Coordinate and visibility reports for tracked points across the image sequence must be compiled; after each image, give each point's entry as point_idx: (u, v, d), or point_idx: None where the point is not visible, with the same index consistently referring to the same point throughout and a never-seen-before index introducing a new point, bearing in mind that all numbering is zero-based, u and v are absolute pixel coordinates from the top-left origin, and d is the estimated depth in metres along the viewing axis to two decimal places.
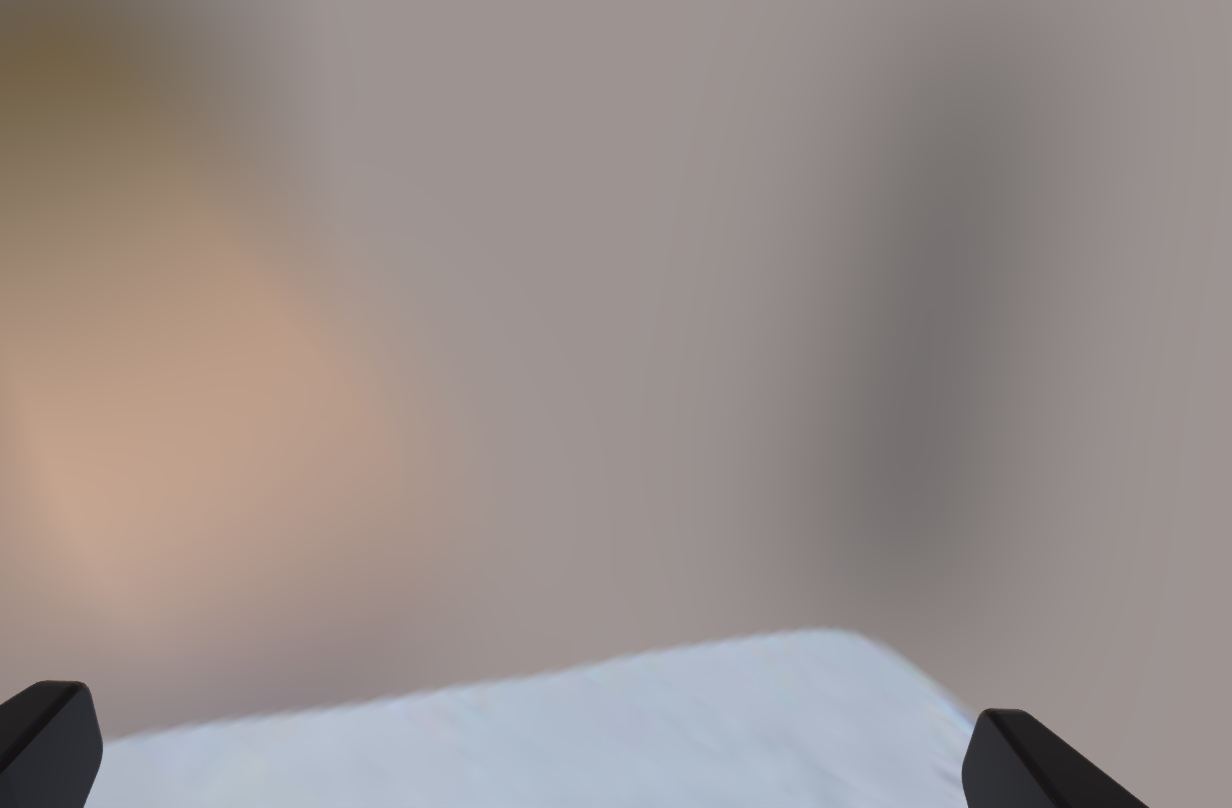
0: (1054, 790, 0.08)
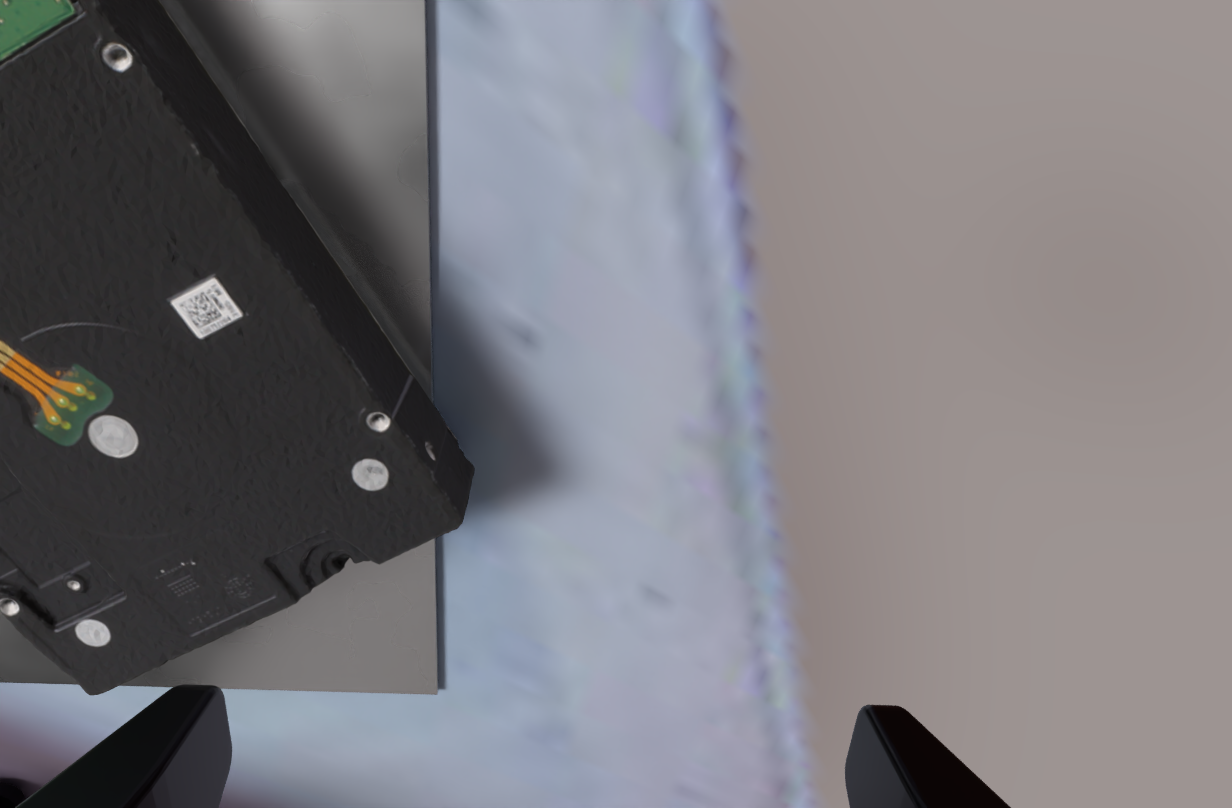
0: (914, 787, 0.08)
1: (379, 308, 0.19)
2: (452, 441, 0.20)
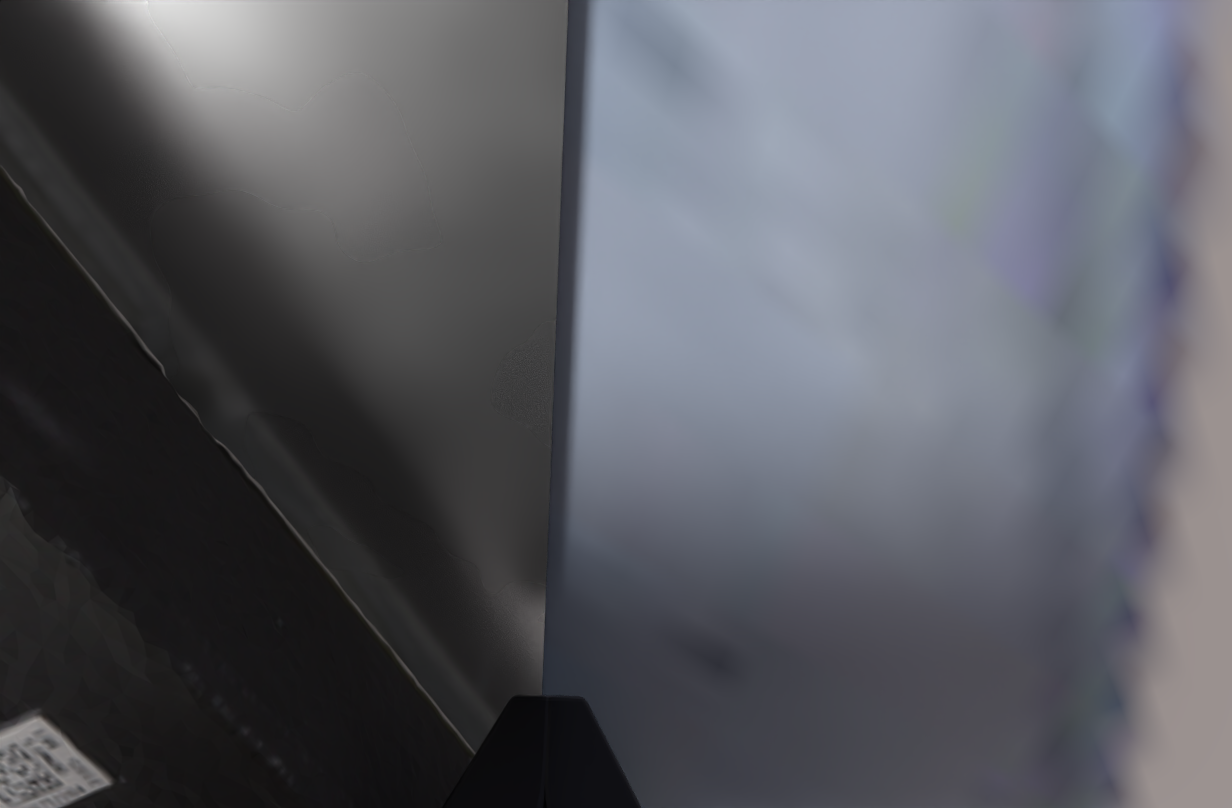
0: (545, 778, 0.07)
1: (446, 630, 0.10)
2: None
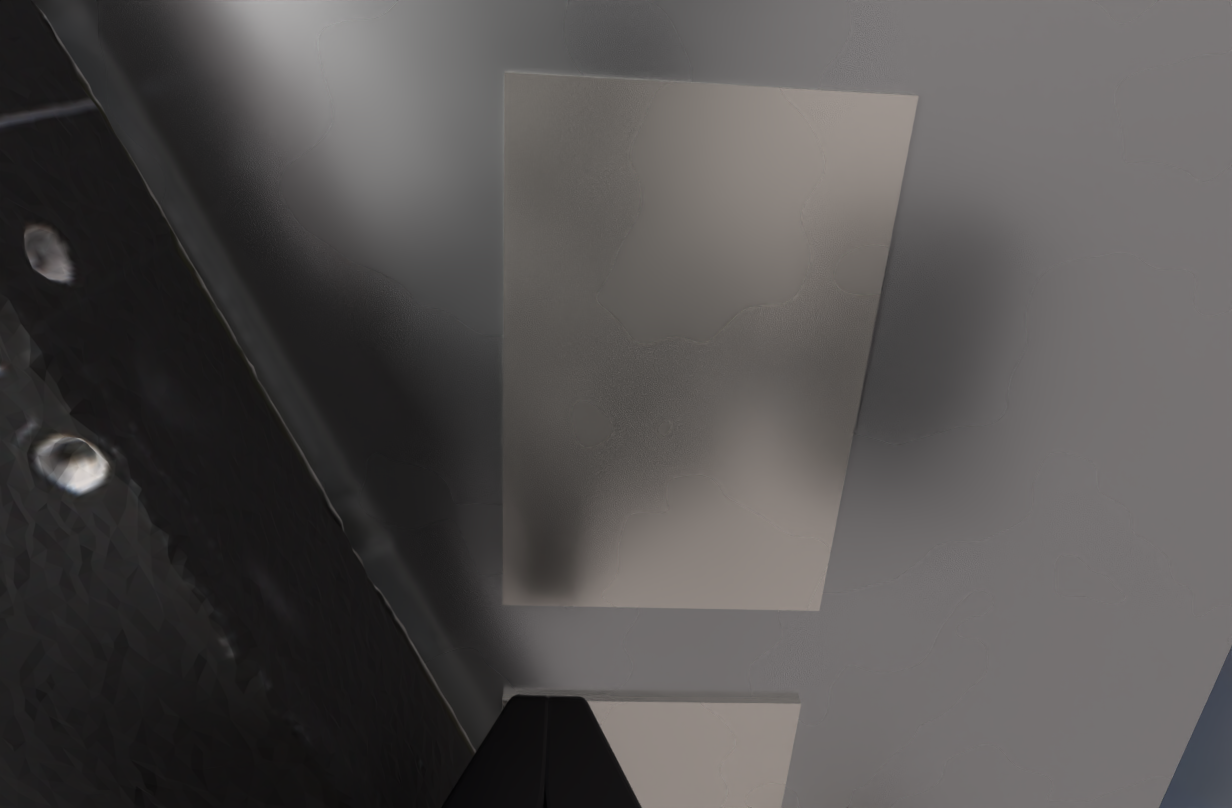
0: (545, 778, 0.07)
1: (1141, 651, 0.11)
2: None
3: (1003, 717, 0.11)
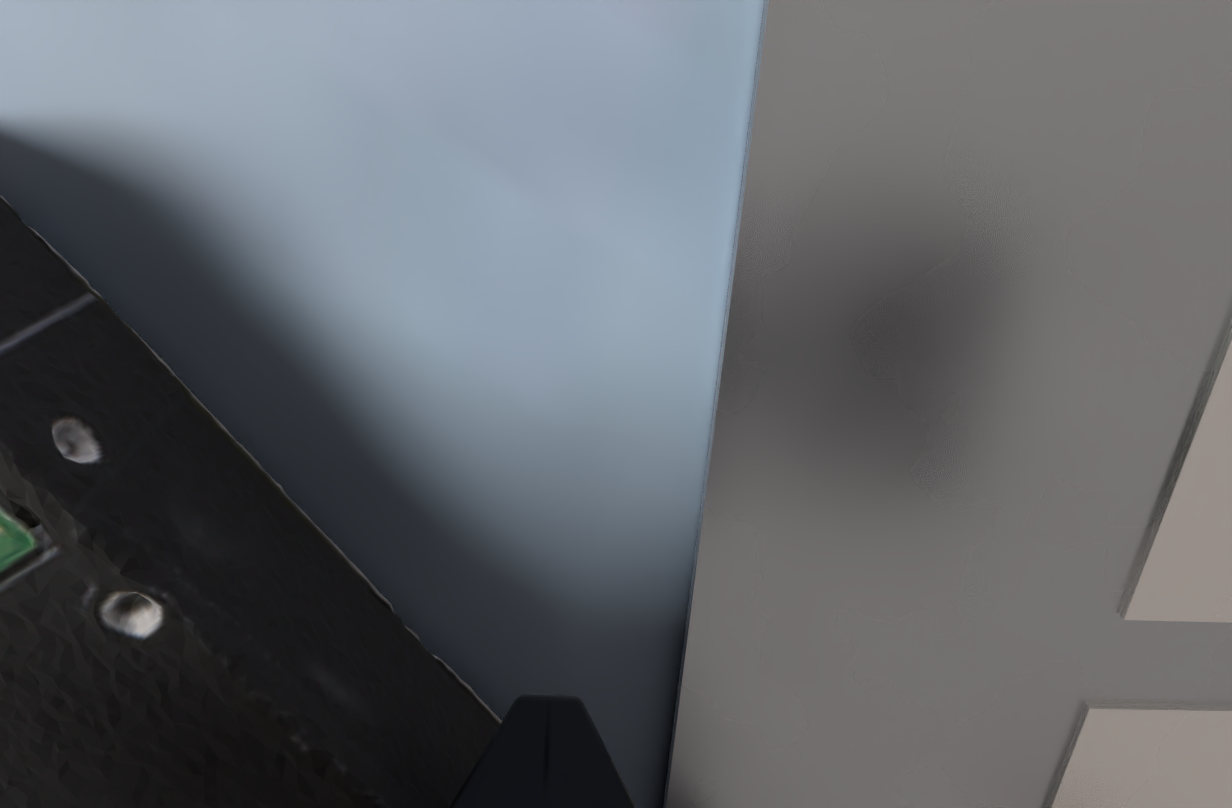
0: (540, 778, 0.07)
1: None
2: None
3: None
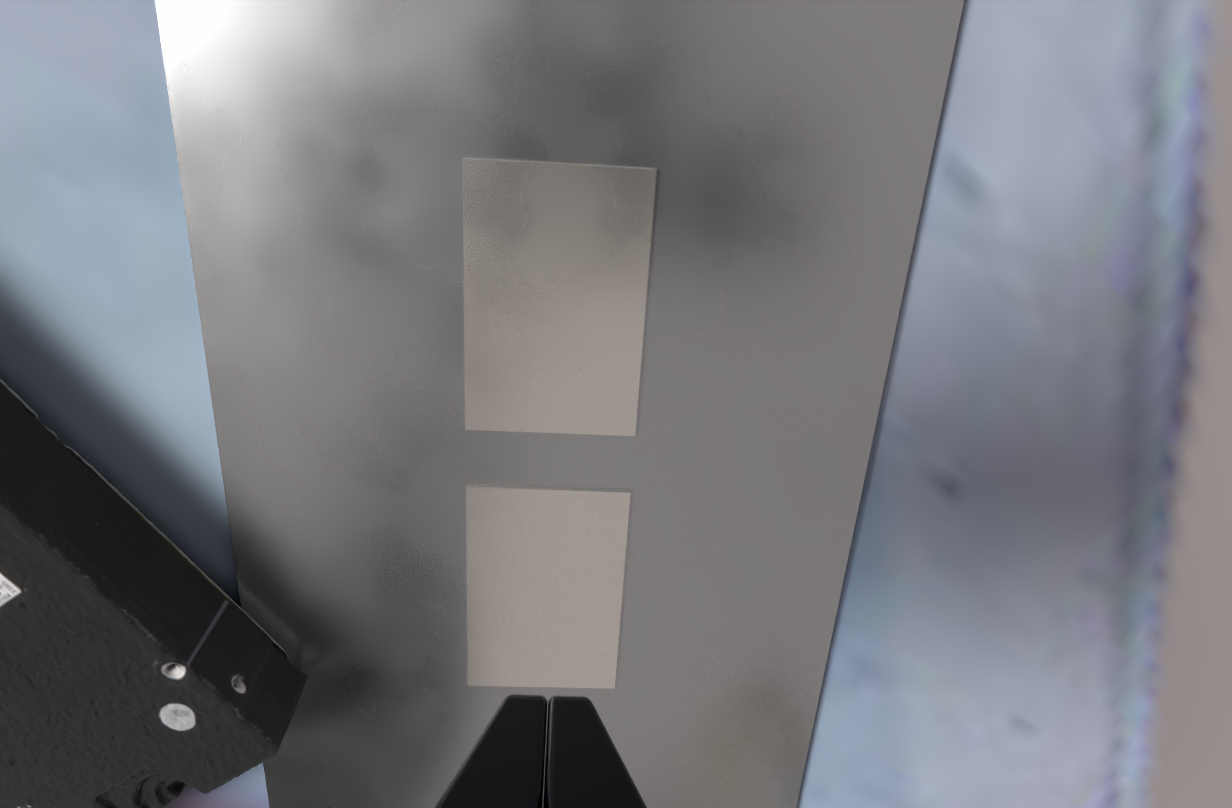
0: (551, 778, 0.07)
1: (818, 465, 0.20)
2: (277, 657, 0.20)
3: (746, 505, 0.20)
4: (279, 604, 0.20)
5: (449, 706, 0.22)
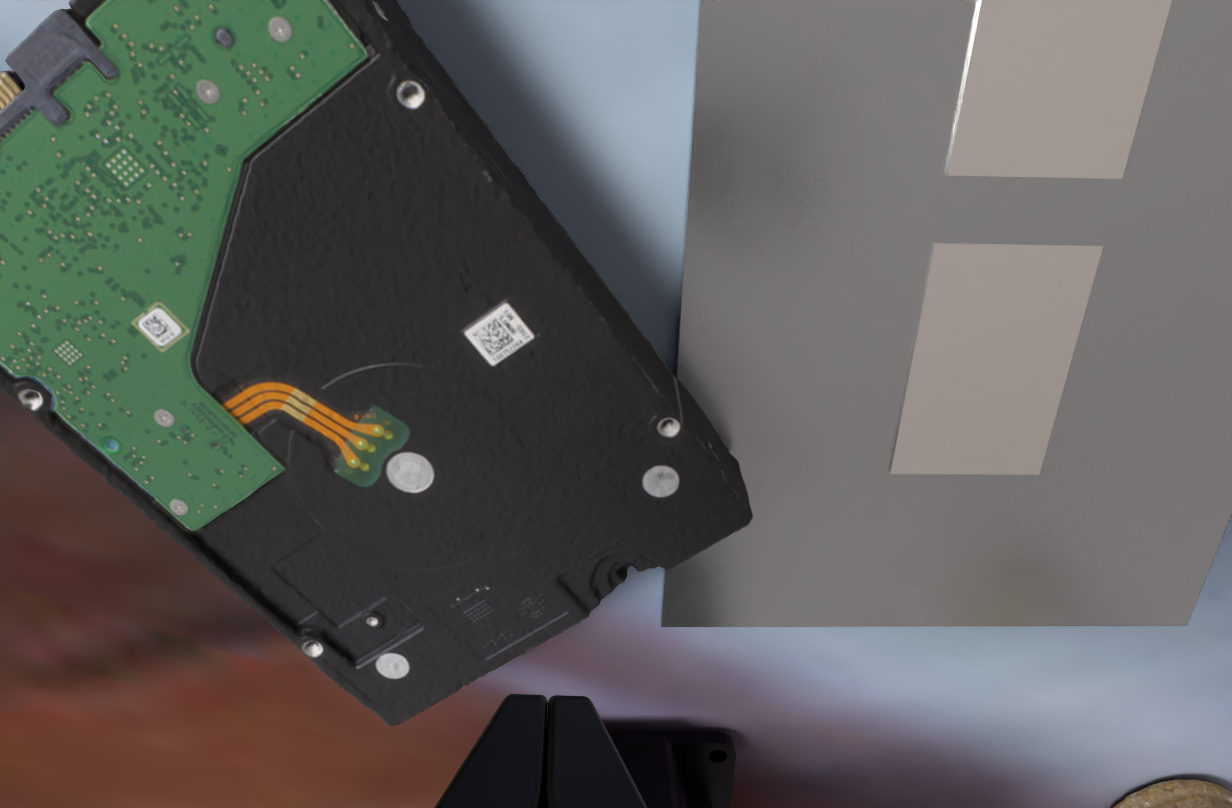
0: (550, 778, 0.07)
1: None
2: (718, 438, 0.20)
3: (1217, 259, 0.19)
4: (715, 385, 0.20)
5: (864, 499, 0.21)
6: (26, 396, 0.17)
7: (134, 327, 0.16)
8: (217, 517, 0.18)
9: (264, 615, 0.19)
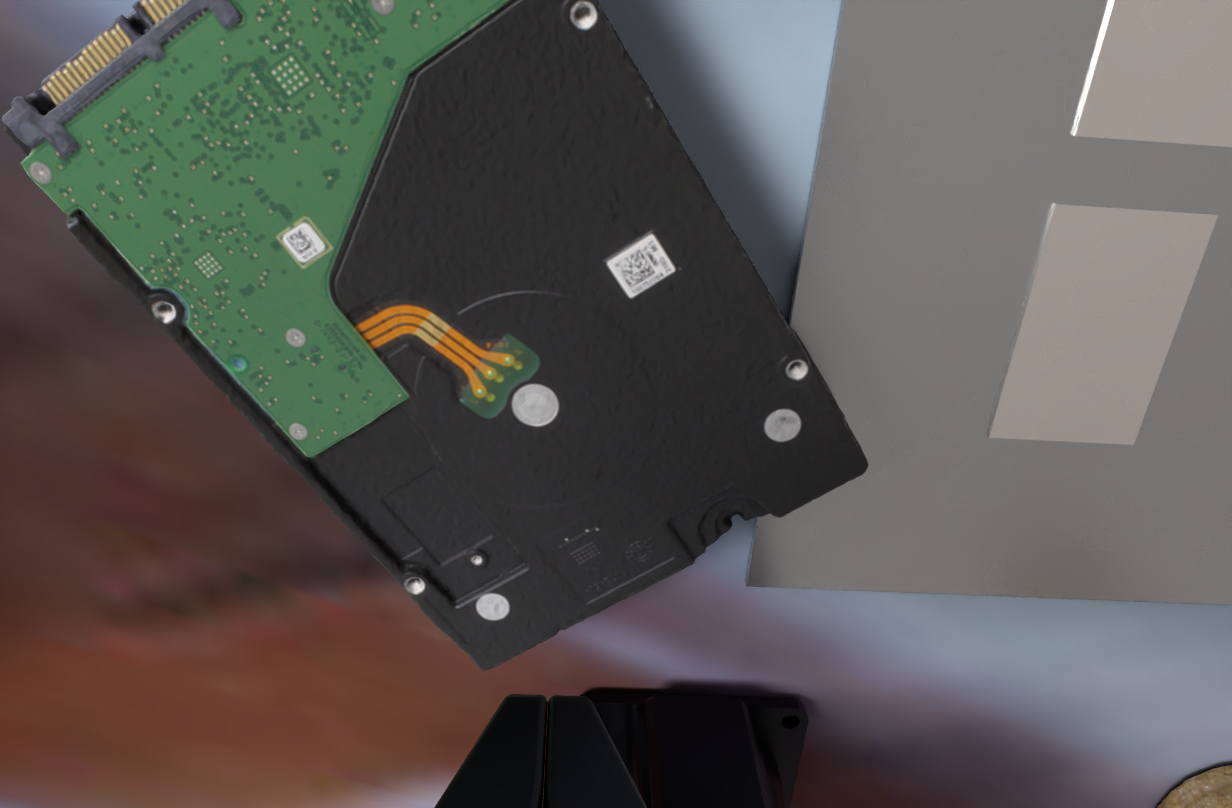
0: (550, 778, 0.07)
1: None
2: None
3: None
4: (826, 339, 0.20)
5: (960, 462, 0.22)
6: (159, 309, 0.17)
7: (278, 241, 0.16)
8: (334, 444, 0.18)
9: (370, 548, 0.19)
